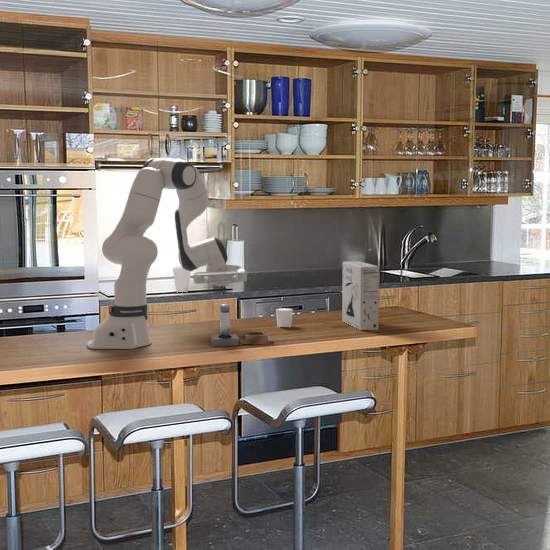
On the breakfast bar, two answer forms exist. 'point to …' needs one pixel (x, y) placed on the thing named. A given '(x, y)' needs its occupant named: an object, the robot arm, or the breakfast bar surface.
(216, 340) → the socket
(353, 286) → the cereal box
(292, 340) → the breakfast bar surface
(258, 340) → the rack
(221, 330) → the drill rod
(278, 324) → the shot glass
